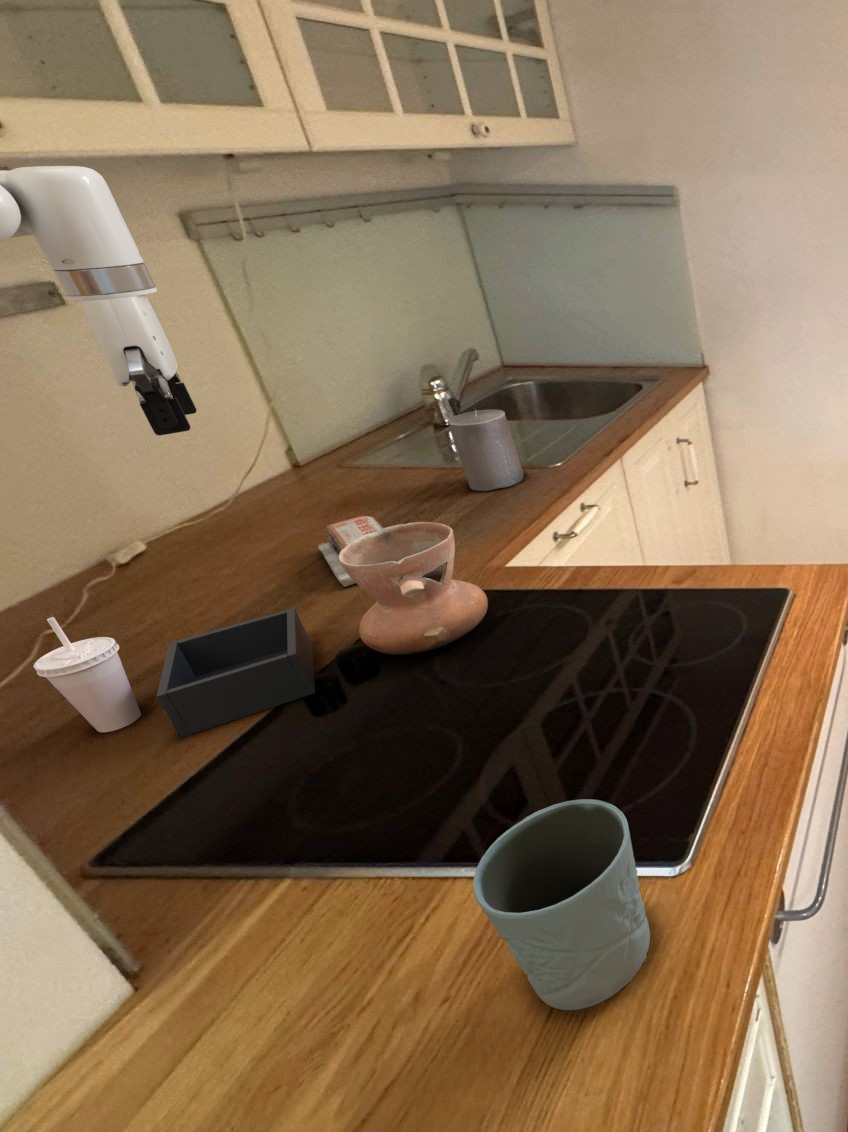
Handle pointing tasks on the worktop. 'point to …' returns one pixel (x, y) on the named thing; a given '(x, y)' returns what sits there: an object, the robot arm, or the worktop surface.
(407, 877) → the worktop surface
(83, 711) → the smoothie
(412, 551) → the pink clay vessel
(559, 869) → the embossed green plant pot
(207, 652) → the bin
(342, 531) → the packaged product
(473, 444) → the pillar candle
